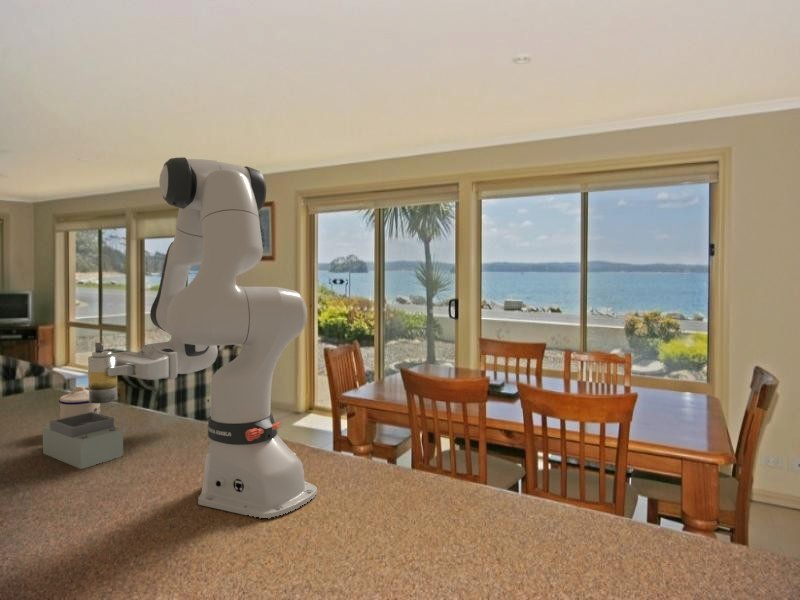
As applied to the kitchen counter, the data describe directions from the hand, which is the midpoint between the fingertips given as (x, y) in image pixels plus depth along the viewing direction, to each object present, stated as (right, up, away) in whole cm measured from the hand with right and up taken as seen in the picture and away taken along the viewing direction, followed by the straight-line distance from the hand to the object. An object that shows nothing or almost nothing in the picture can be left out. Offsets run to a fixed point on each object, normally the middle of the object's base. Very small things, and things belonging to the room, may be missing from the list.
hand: (98, 370), depth 118 cm
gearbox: (-5, -19, 0) cm, 19 cm away
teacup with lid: (-14, -18, +16) cm, 28 cm away
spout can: (0, -7, +1) cm, 7 cm away
